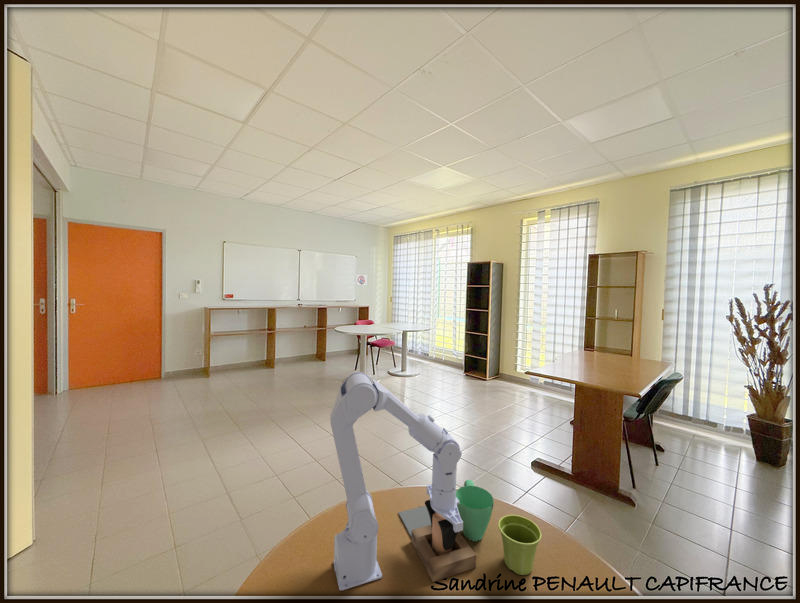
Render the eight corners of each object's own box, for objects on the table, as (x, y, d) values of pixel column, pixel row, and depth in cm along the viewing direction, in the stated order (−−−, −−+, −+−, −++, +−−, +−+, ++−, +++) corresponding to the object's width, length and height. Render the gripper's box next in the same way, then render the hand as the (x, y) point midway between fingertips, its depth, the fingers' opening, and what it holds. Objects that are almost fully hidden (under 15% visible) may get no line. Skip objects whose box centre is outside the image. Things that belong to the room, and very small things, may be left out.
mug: (496, 550, 80) (498, 510, 79) (456, 548, 80) (457, 508, 80) (483, 509, 94) (484, 476, 94) (449, 508, 95) (450, 474, 94)
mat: (412, 539, 83) (412, 538, 82) (398, 513, 92) (398, 512, 92) (446, 529, 86) (447, 528, 86) (430, 505, 95) (430, 504, 95)
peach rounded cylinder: (437, 565, 75) (438, 527, 75) (428, 548, 80) (429, 513, 79) (456, 559, 77) (457, 522, 76) (446, 543, 81) (447, 508, 81)
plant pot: (491, 549, 80) (492, 515, 80) (527, 547, 81) (529, 513, 81) (507, 583, 71) (508, 545, 70) (548, 580, 72) (549, 543, 71)
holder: (432, 582, 71) (433, 569, 71) (411, 541, 82) (411, 530, 82) (475, 567, 75) (476, 555, 74) (449, 530, 86) (449, 519, 86)
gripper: (475, 499, 72) (473, 558, 73) (444, 465, 86) (442, 515, 86) (447, 506, 70) (446, 567, 70) (419, 470, 83) (418, 521, 84)
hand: (442, 539), depth 78 cm, fingers closed on peach rounded cylinder, 5 cm apart
